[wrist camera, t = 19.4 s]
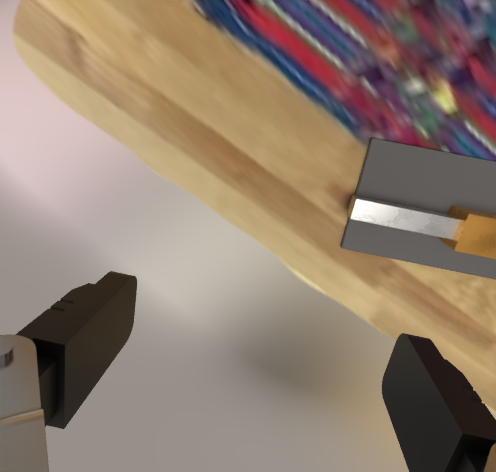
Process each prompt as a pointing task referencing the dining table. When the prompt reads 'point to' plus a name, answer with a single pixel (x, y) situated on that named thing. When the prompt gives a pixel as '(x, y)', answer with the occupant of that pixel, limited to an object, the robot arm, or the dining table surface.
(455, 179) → the mat
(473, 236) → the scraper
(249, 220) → the dining table surface
